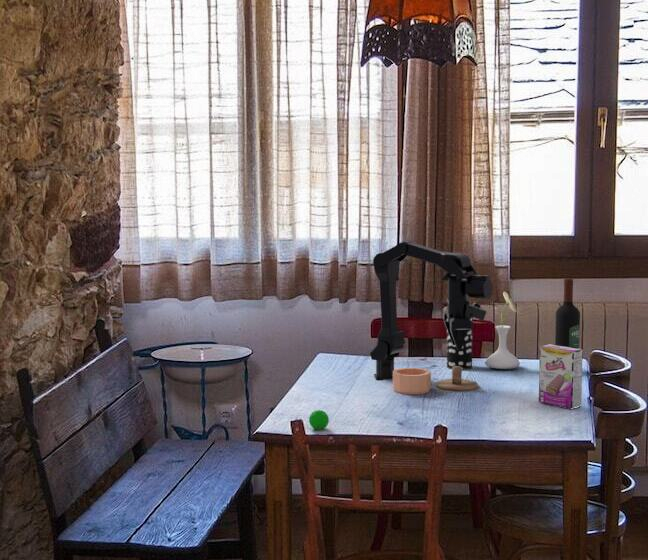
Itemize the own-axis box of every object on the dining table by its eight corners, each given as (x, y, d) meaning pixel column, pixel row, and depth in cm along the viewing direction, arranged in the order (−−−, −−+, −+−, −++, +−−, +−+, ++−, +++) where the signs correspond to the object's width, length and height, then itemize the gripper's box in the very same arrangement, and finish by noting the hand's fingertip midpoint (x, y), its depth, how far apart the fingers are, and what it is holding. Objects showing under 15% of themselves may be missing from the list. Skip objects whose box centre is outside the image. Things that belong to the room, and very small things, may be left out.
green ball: (312, 425, 266) (312, 408, 265) (330, 427, 264) (330, 409, 264) (307, 430, 261) (306, 412, 260) (325, 432, 259) (325, 413, 259)
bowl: (391, 387, 309) (391, 368, 308) (427, 387, 309) (427, 367, 308) (395, 396, 298) (395, 376, 297) (432, 395, 298) (432, 375, 297)
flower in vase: (517, 372, 327) (518, 295, 324) (481, 370, 331) (482, 294, 328) (523, 364, 340) (524, 290, 337) (488, 362, 343) (489, 289, 340)
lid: (433, 382, 312) (434, 363, 312) (472, 381, 313) (473, 362, 312) (440, 391, 301) (440, 371, 300) (480, 391, 301) (480, 371, 300)
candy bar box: (537, 403, 287) (538, 346, 285) (547, 400, 291) (548, 343, 289) (572, 410, 279) (573, 351, 277) (582, 407, 283) (583, 348, 281)
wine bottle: (560, 368, 333) (562, 277, 330) (582, 371, 329) (584, 278, 325) (550, 372, 327) (552, 279, 324) (573, 375, 323) (575, 281, 319)
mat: (430, 383, 313) (430, 381, 313) (475, 382, 314) (475, 381, 314) (437, 393, 300) (437, 392, 300) (484, 392, 300) (484, 391, 300)
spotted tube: (473, 369, 333) (474, 309, 330) (448, 369, 333) (448, 309, 330) (470, 364, 341) (470, 305, 338) (445, 364, 341) (445, 305, 339)
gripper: (490, 300, 294) (489, 353, 296) (479, 291, 313) (478, 341, 314) (451, 300, 294) (451, 354, 296) (442, 292, 312) (442, 342, 314)
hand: (457, 347), depth 305 cm, fingers open, 9 cm apart
